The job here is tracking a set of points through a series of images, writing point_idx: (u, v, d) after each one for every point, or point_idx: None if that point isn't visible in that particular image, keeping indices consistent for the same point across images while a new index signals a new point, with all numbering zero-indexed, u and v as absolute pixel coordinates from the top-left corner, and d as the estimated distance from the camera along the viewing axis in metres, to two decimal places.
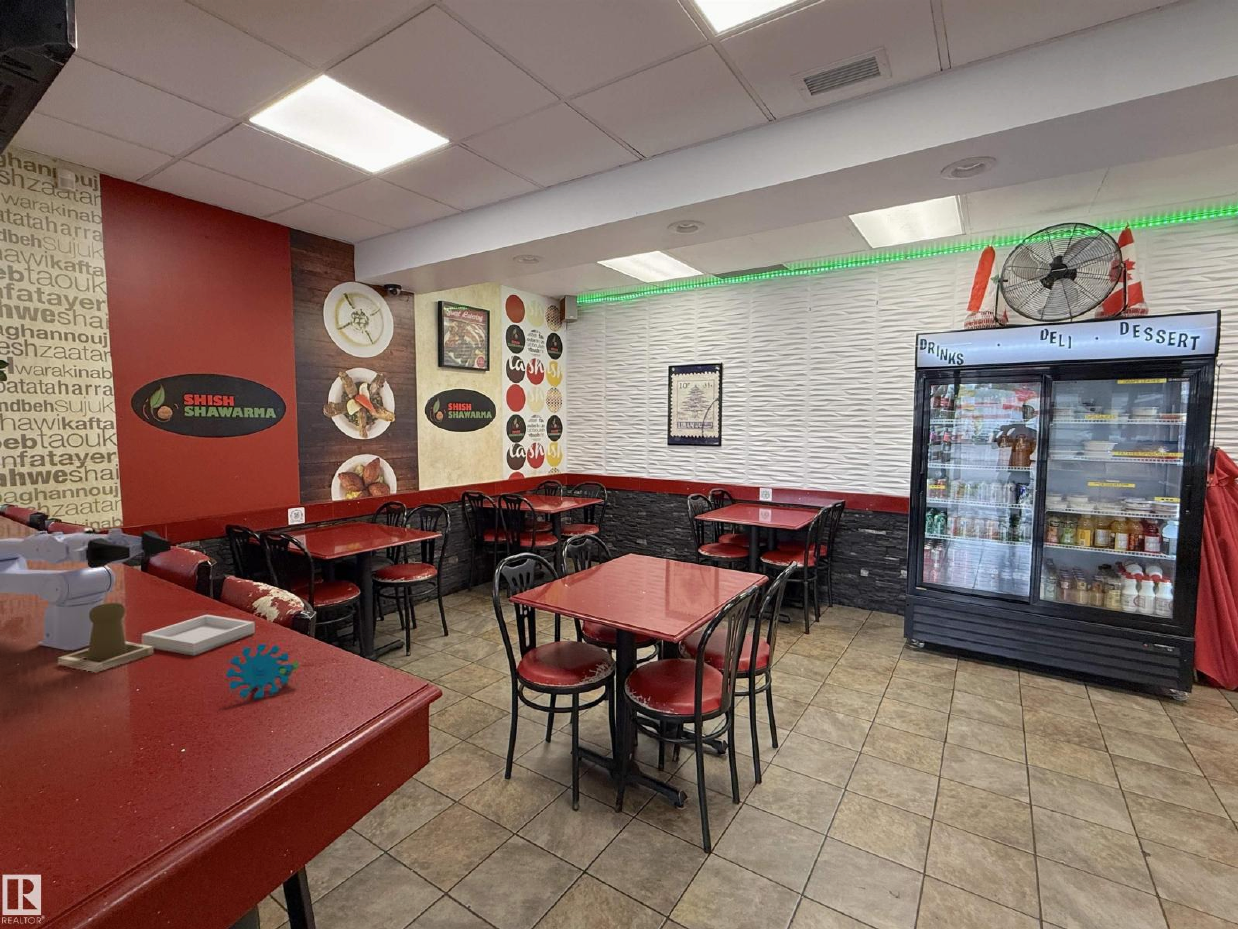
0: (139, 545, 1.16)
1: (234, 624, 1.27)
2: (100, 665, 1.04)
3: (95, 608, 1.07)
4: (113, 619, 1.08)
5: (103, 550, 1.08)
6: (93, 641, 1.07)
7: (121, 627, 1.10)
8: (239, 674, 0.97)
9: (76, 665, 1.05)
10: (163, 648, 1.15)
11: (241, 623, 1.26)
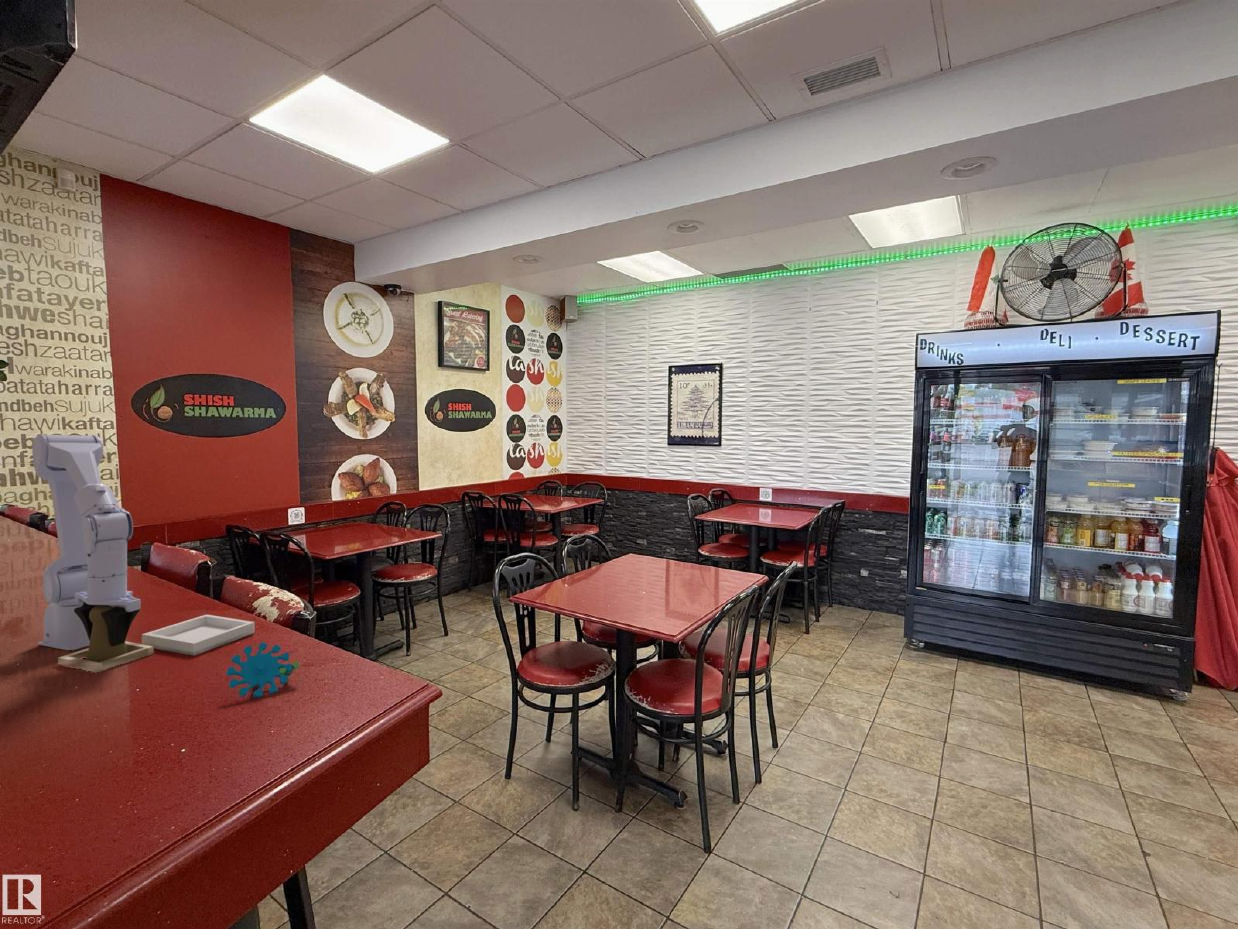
0: None
1: (234, 624, 1.27)
2: (100, 665, 1.04)
3: (95, 608, 1.07)
4: None
5: (122, 615, 1.09)
6: (93, 641, 1.07)
7: None
8: (239, 673, 0.97)
9: (76, 665, 1.05)
10: (163, 648, 1.15)
11: (241, 623, 1.26)
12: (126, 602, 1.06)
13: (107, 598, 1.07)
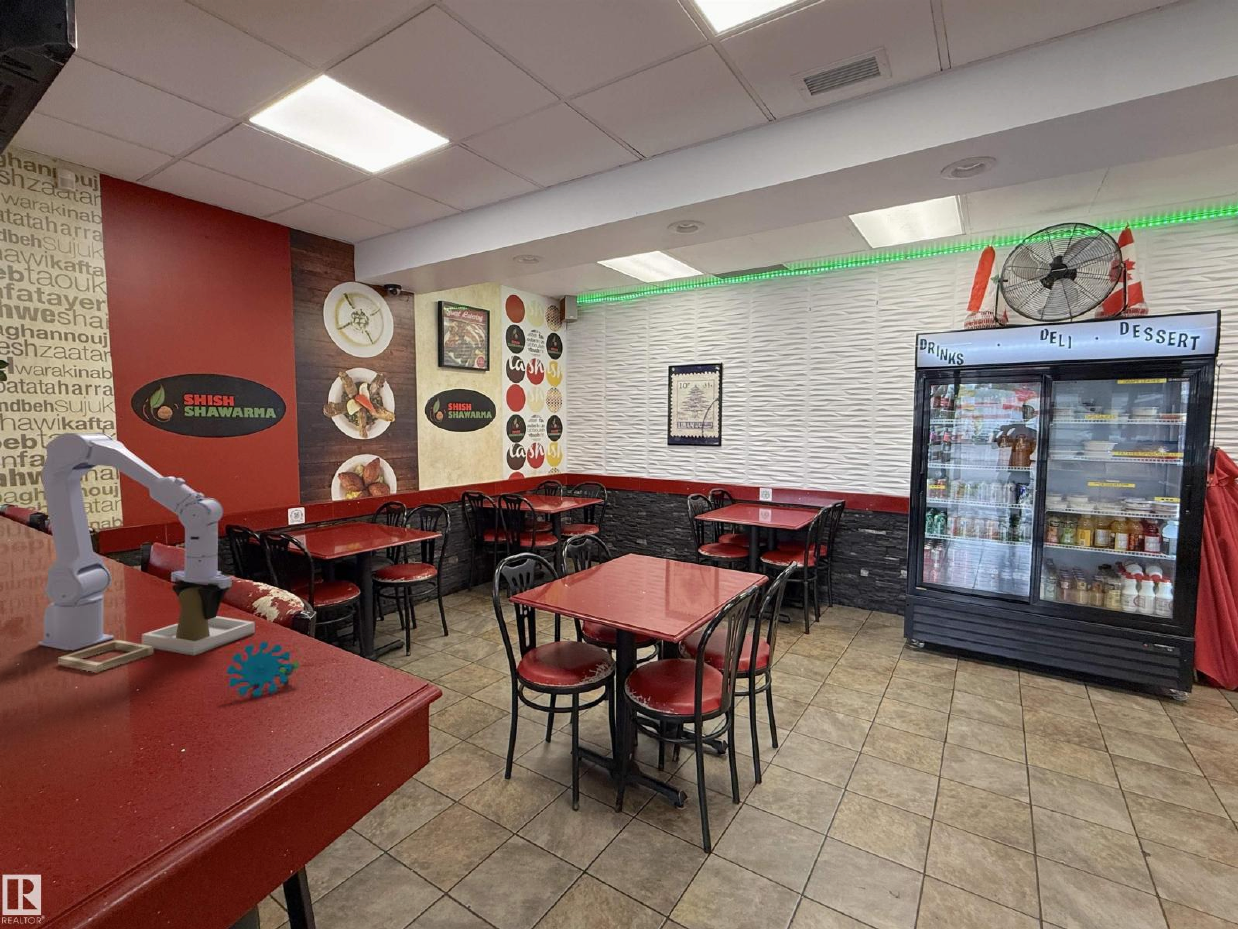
0: (189, 581, 1.22)
1: (234, 624, 1.27)
2: (100, 665, 1.04)
3: (184, 592, 1.18)
4: (200, 602, 1.18)
5: (214, 592, 1.21)
6: (182, 622, 1.17)
7: None
8: (239, 671, 0.98)
9: (76, 665, 1.05)
10: (163, 648, 1.15)
11: (241, 623, 1.26)
12: (220, 580, 1.18)
13: (202, 576, 1.19)
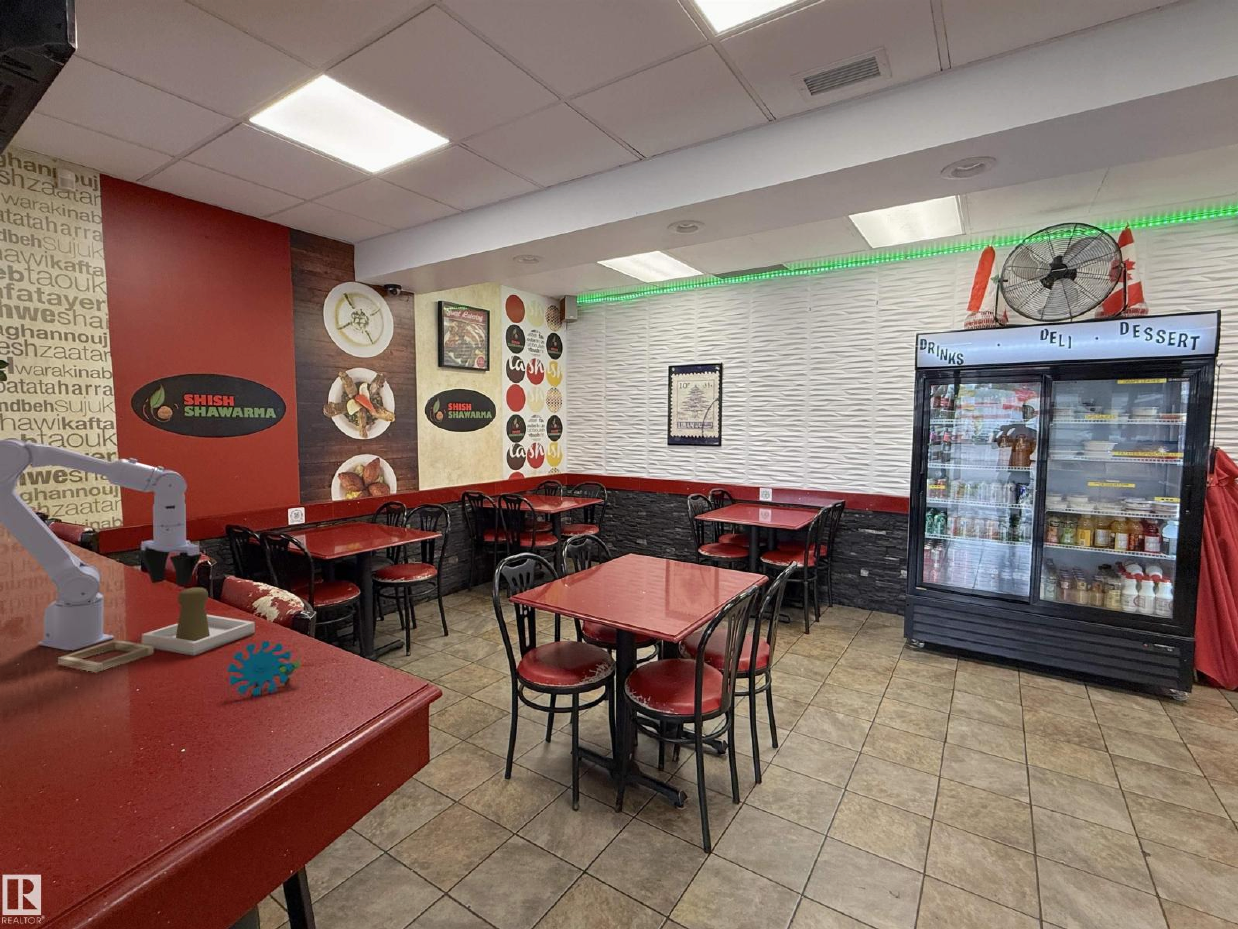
0: (159, 550, 1.27)
1: (234, 624, 1.27)
2: (100, 665, 1.04)
3: (183, 592, 1.18)
4: (200, 602, 1.19)
5: (187, 560, 1.25)
6: (182, 622, 1.17)
7: (205, 609, 1.21)
8: (240, 670, 0.99)
9: (76, 665, 1.05)
10: (163, 648, 1.15)
11: (241, 623, 1.26)
12: (187, 547, 1.23)
13: (171, 544, 1.23)
